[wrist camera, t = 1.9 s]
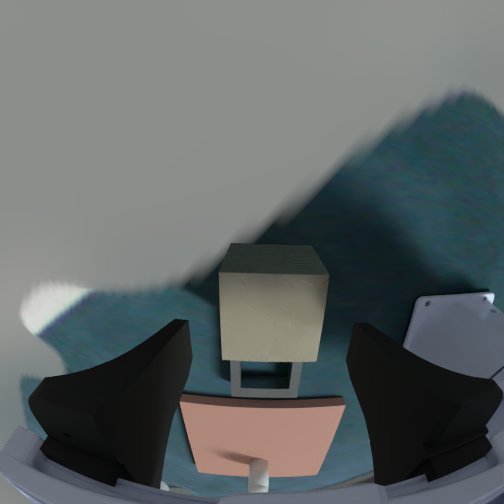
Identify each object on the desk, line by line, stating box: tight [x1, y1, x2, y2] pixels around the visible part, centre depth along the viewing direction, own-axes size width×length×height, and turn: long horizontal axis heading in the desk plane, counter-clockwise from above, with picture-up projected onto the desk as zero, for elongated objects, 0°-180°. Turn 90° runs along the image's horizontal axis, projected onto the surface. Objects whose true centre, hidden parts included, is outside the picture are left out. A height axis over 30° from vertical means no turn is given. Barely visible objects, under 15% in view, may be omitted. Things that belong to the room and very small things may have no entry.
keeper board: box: [180, 394, 345, 493], centre depth 21 cm, size 14×14×6 cm
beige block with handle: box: [219, 243, 329, 398], centre depth 17 cm, size 12×5×5 cm, turn 179°
